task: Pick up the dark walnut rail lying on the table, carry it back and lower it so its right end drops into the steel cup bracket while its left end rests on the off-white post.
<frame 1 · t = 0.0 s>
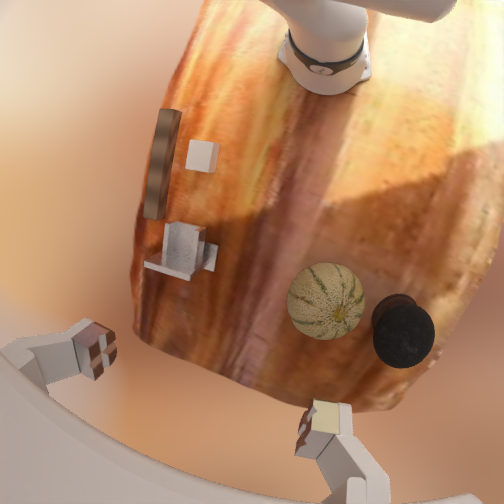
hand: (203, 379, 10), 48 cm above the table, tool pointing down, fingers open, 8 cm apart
walnut rail: (165, 164, 58), on the table
rest post: (206, 156, 55), on the table
cantaloupe: (325, 285, 58), on the table
cup bracket: (194, 234, 61), on the table
black rounded piece: (395, 315, 56), on the table
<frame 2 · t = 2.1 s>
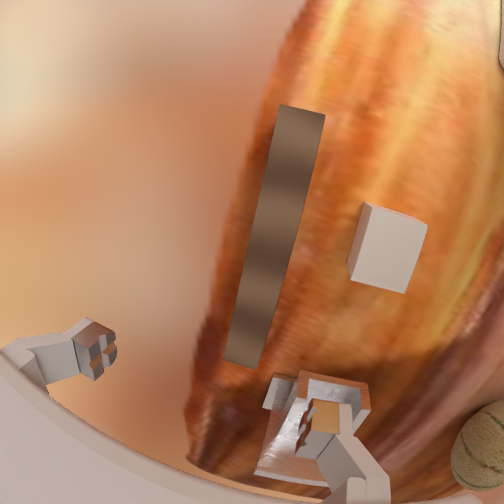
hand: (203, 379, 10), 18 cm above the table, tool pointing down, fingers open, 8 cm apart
walnut rail: (274, 243, 27), on the table
rest post: (380, 240, 24), on the table
cantaloupe: (481, 413, 27), on the table
cup bracket: (325, 378, 30), on the table
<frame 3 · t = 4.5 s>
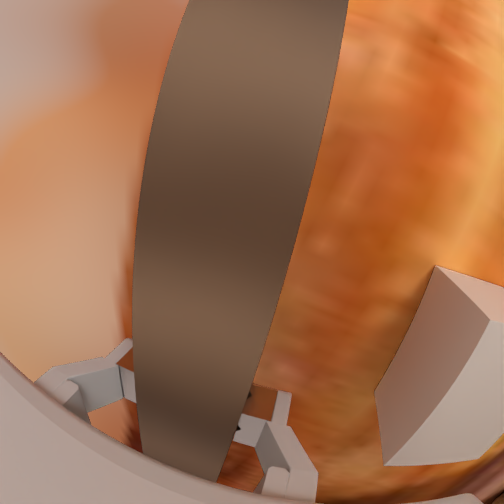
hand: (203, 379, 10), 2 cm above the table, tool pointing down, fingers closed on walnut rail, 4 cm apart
walnut rail: (219, 350, 11), on the table, touching gripper
rest post: (451, 345, 9), on the table
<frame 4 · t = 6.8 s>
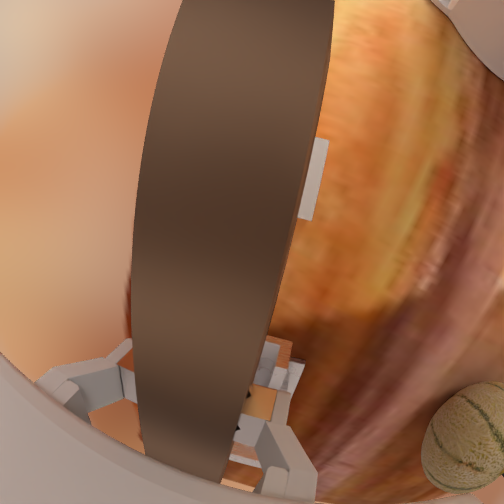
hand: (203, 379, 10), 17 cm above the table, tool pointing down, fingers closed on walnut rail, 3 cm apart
walnut rail: (219, 353, 12), point 15 cm above the table, touching gripper
rest post: (291, 172, 23), on the table
cantaloupe: (460, 400, 26), on the table
cup bracket: (253, 338, 29), on the table
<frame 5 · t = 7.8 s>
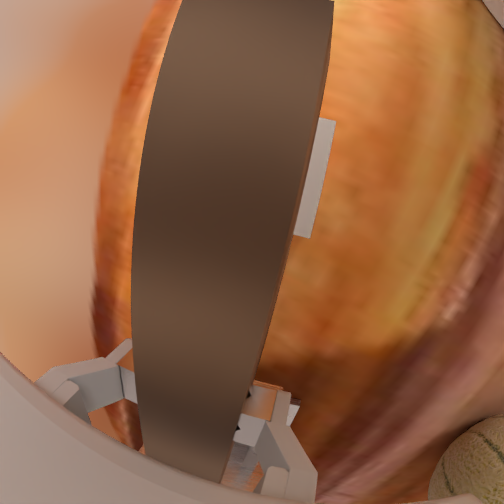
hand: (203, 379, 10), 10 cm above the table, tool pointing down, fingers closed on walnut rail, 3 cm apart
walnut rail: (219, 353, 12), point 9 cm above the table, touching gripper
rest post: (282, 168, 17), on the table
cantaloupe: (473, 431, 20), on the table
cup bracket: (236, 375, 23), on the table
when the fingers open (6 cm above the table, at t = 8.8 s): walnut rail stays where it is, resting on cup bracket, rest post.
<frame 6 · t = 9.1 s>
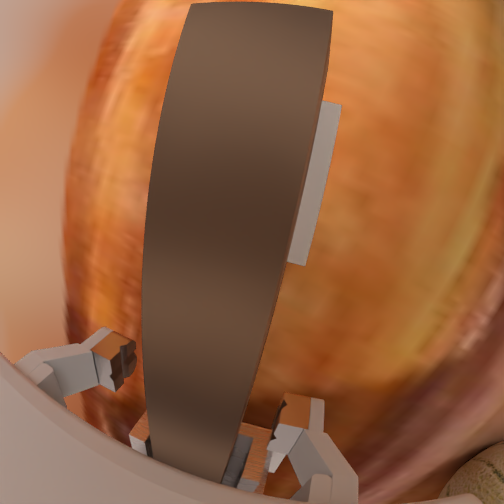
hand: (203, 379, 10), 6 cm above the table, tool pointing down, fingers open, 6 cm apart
walnut rail: (223, 346, 12), point 4 cm above the table, touching cup bracket, rest post
rest post: (272, 170, 13), on the table
cantaloupe: (481, 455, 16), on the table
cup bracket: (222, 408, 19), on the table
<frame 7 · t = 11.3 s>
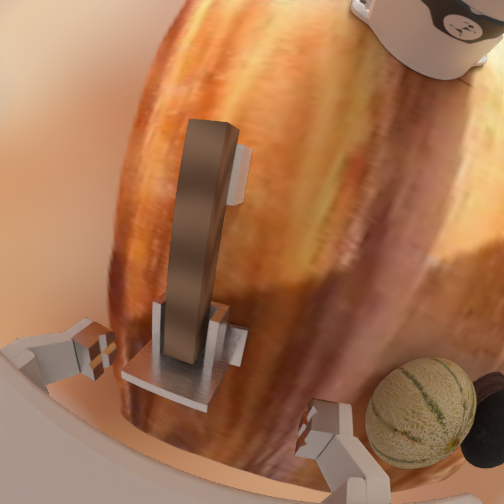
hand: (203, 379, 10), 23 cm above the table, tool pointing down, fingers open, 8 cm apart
walnut rail: (202, 245, 29), point 4 cm above the table, touching cup bracket, rest post
rest post: (226, 172, 30), on the table
cantaloupe: (409, 378, 32), on the table
cup bracket: (205, 308, 35), on the table
black rounded piece: (479, 396, 30), on the table
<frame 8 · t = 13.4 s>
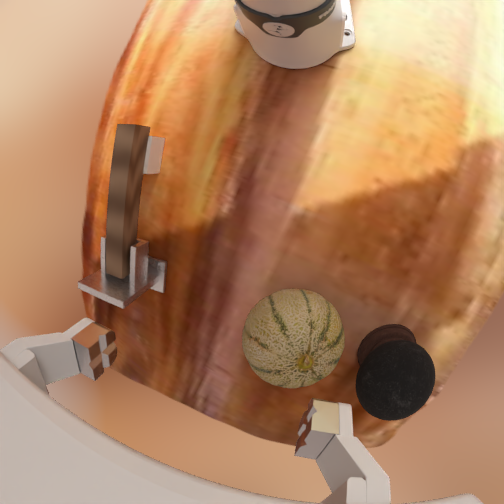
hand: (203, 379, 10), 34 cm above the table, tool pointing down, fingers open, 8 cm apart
walnut rail: (131, 200, 42), point 4 cm above the table, touching cup bracket, rest post
rest post: (150, 154, 43), on the table
cantaloupe: (297, 314, 46), on the table
cup bracket: (140, 247, 49), on the table
black rounded piece: (386, 349, 44), on the table
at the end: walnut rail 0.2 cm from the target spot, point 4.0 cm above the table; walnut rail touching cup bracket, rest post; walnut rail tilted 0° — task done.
